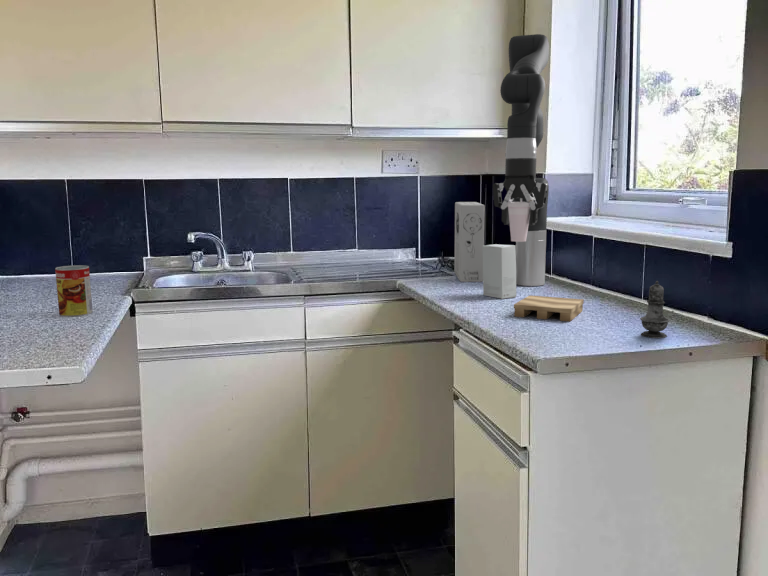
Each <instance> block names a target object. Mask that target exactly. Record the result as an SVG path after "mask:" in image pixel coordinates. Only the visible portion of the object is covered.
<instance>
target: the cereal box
mask: <svg viewBox="0 0 768 576" xmlns="http://www.w3.org/2000/svg"><path fill="white" fill-rule="evenodd" d="M485 207H486V205H485V204H482V203H480V202H477V201H456V202H455V203H454V260H453V261H454V263H453V264H454V266H453V267H454V269H453V270H454V271H453V272H454V274H455V275H456V277H457V278H458V280H459V282H460V283H483V254H482V246H485V215H486V214H485Z"/></svg>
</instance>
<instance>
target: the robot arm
mask: <svg viewBox="0 0 768 576" xmlns="http://www.w3.org/2000/svg"><path fill="white" fill-rule="evenodd" d="M549 59H550V43H549V39H548V37H547V36H546V35H545V34H541V33H540V34H539V33H536V34H526V35H524V34H522V35H513V36H512V37H510V39H509V43H508V64H509V66H508V67H509V72H508V73H507V74H506V75H505V76H504V77H503V79H502V82H501V84H500V92H499V93H500V97H501V99H502V100H503V101H504V103H506V104H508V105H509V104H510V105H511V115H510V116H508V118H507V129H506V130H507V132H506V138H507V139H506V146H505V154H504V157H505V167H504V169H505V170H504V172H505V173H504V175H505V176H504V181H503V182H500V183H498V182H495V183H493V184H492V194H493V204H494V207H496V208H498V209H501V222H502V223H503V225H504V226H506V225H507V226H509V225H510V223H509V212H508V207H507V203H509V202H520V198H522V202H528V203H530V204H529V205H530V207H531V210H530V219H529V225H528V232H527V238H526V241H524V242H515V250H516V286H517V285H518V286H527V287H539V286H540V287H541V286H544V285H545V283H546V281H545V280H546V257H547V256H546V255H547V253H546V251H547V223H548V222H547V220H548V219H547V218H548V217H547V216H548V215H547V214H548V205H549V189H550V188H549V187H550V186H549V182H548V179H546V178H543V177H537V176H536V175H537V151H538V150H537V149H538V148H539V145H540V144H541V142H542V140H543V138H544V113H543V110H542V108H541V107H540V106H541V103H542V100H543V97H544V94H545V90H546V81H545V79H544V77H543V76H542V75H541V73H542V72H543V71H544V69H545V68H546V66H547V65H548V63H549ZM504 189H505V191H506V194H505V197H504V199H502V192H503V190H504Z"/></svg>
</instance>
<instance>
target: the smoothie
mask: <svg viewBox="0 0 768 576" xmlns="http://www.w3.org/2000/svg"><path fill="white" fill-rule="evenodd" d="M529 204H530V203H528V202H522V198H520V202H513V201H512V202H509V203H507V207H508V212H509V232H510V242H515V243H516V242H524V241H526V238H527V232H528V225H529V219H530V210H531V207H530V205H529Z"/></svg>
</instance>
